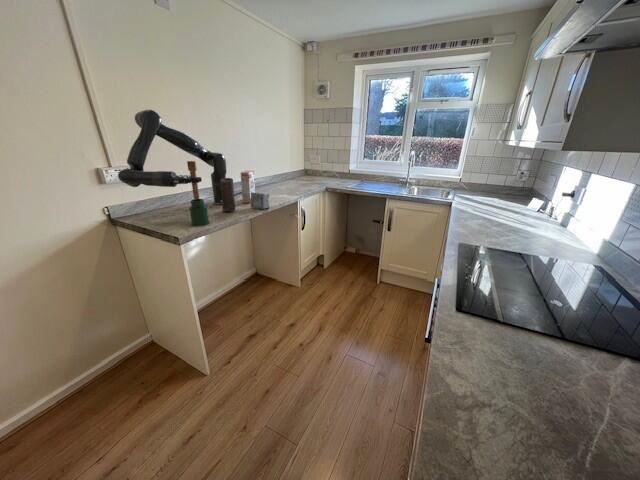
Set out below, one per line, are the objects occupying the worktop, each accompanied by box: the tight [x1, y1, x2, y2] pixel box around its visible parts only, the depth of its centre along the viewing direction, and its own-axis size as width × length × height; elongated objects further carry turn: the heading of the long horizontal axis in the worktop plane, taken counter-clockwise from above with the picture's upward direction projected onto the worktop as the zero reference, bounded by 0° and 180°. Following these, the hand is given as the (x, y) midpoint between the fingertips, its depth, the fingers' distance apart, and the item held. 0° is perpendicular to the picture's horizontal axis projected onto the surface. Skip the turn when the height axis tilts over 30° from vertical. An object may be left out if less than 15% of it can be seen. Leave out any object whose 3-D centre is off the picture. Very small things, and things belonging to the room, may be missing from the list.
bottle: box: [189, 198, 210, 227], centre depth 135 cm, size 8×8×12 cm
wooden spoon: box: [186, 160, 200, 199], centre depth 129 cm, size 3×4×18 cm
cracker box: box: [240, 169, 256, 204], centre depth 182 cm, size 14×6×21 cm, turn 179°
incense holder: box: [250, 191, 270, 210], centre depth 167 cm, size 10×8×10 cm
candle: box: [220, 177, 236, 213], centre depth 156 cm, size 8×7×20 cm
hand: (199, 179), depth 129 cm, fingers closed on wooden spoon, 2 cm apart
